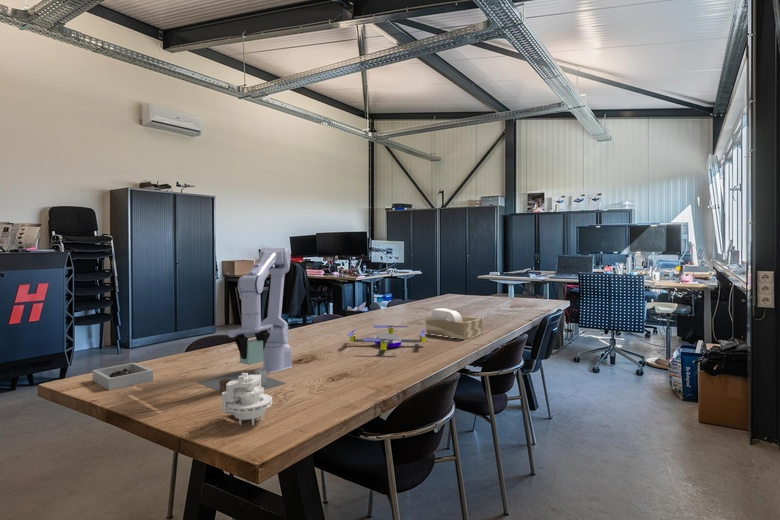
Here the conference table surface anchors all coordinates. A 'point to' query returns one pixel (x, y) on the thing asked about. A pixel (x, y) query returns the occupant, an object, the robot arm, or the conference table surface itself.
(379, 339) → the quadcopter drone
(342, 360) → the conference table surface
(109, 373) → the gray hollow frame
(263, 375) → the metal post
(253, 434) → the conference table surface
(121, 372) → the game controller
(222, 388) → the brown cube
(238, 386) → the mechanical part
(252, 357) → the pale aqua cube
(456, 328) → the plywood crate
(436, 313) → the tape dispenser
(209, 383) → the mat
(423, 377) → the conference table surface
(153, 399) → the conference table surface
